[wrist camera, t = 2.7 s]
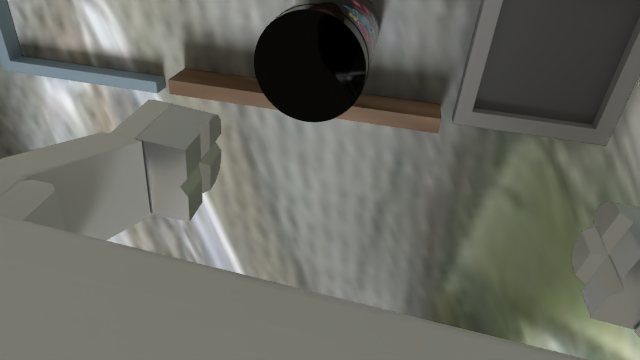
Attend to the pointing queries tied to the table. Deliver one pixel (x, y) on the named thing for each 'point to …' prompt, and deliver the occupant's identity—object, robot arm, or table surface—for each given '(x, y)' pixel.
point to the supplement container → (317, 57)
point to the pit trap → (551, 67)
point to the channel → (251, 94)
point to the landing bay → (66, 64)
